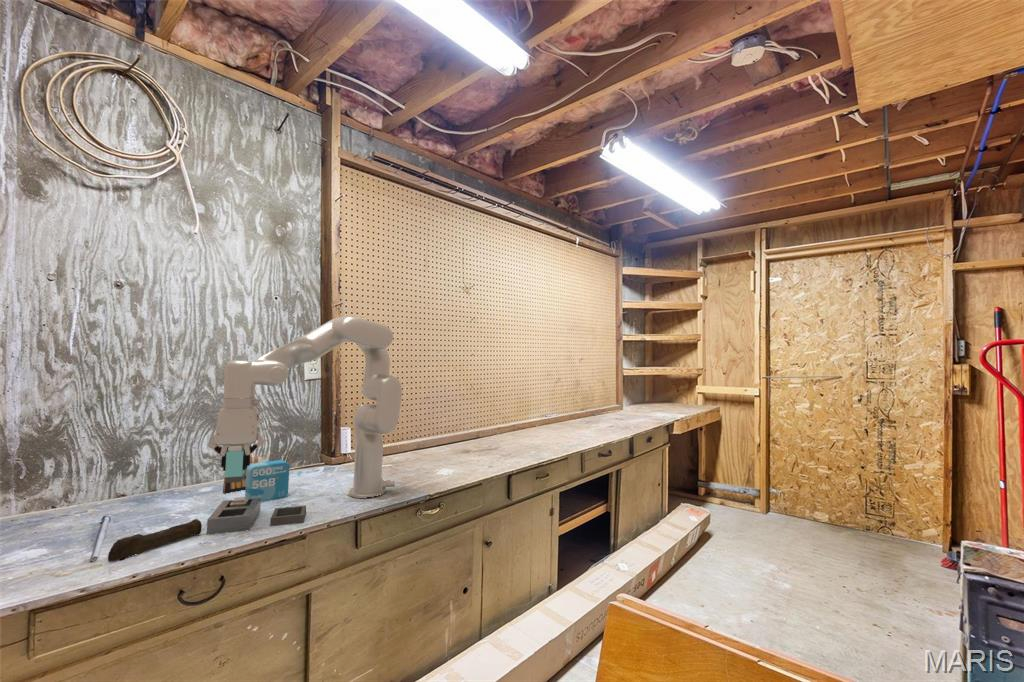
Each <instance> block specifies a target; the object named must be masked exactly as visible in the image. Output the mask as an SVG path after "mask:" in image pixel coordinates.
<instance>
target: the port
mask: <svg viewBox="0 0 1024 682" xmlns="http://www.w3.org/2000/svg"><path fill="white" fill-rule="evenodd" d="M261 504H262V502H261V498H251V499H246V497H245V496H243V497H234V498H233V499H228V500H222V501H221V503H220V504H219V505H218V506H217V508H216V509H215V510H214V511H213V512H212V514H210V516H209V517H208V518H207V519H206V520H207V521H206V535H207V534H209V535H216V534H215V533H219V534H226V533H225V532H229V533H237V531H239V532H246V530H248V531H250V530H251V529H250V528H252V527H253V525H254V524H255V521H256V520H257V518H256V517H258V516H259V513H260V512H261ZM255 519H256V520H255Z"/></svg>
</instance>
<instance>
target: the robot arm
mask: <svg viewBox="0 0 1024 682" xmlns="http://www.w3.org/2000/svg"><path fill="white" fill-rule="evenodd" d="M393 334H394V333H393V331H392V330H391V328H390V327H389V326H387V325H385V324H382V323H379V322H375V321H371V320H367V319H364V318H361V317H356V316H340V317H334V318H333V319H330V320H329V321H327V322H325V323H323V324H321V325H320V326H318V327H317V328H315V329H313V330H312V331H311V330H310V332H307V333H306V334H305V335H304V334H303V336H301V337H298V338H296V339H294V340H292V341H290V342H288V343H286V344H284V345H281V346H280V347H279V346H278V347H277V348H275V349H273V350H271V351H269V352H267V353H265V354H264V355H262V356H260V357H259V358H257V359H256V360H254V361H252V360H242V359H241V360H240V359H239V360H238V359H237V360H234V359H233V360H229V361H227V362H226V364H225V368H224V383H223V384H224V385H223V386H224V387H223V400H222V402H223V403H222V408H220V410H219V413H218V416H217V420H216V428H215V431H214V432H215V434H214V435H213V436H212V438H211V439H210V440H209V442H208V443H207V444H206V446H207V447H208V448H211V449H212V450H215V452H216V453H217V454H219V456H221V460H220V461H221V462H220V464H221V466H220V467H221V468H223V469H222V470H223V472H225V469H226V452H227V451H228V450H229V446H230V445H244V448H245V454H244V456H243V470H246V468H247V467H248V466H249V465H250V455H251V454H252V453H253V452H254V451H256V450H257V449H258V448H259V447H261V446H263V445H264V444H266V440H265V439H264V438H263V436H262V434H261V433H260V418H259V417H260V416H259V409H258V408H257V407H255V406H257V405H261V399H257V398H256V386H257V385H258V386H260V385H261V386H269V387H275V386H279V385H281V384H282V383H284V382H285V381H286V380H287V379H288V377H289V369H291V368H293V367H295V366H297V365H301V364H304V363H310V362H312V361H315V360H318V359H320V358H321V357H323V356H325V355H326V354H328V353H329V352H331V351H332V350H334V349H335V348H337V347H339V346H340V345H342V344H344V343H355V344H356V345H357V347H359V348H360V349H361V351H362V352H363V355H364V358H365V363H364V364H365V366H364V373H363V379H362V386H361V392H362V395H363V397H364V398H366V399H367V400H370V401H374V402H376V403H365V404H362V405H360V406H359V407H358V408H357V409H356V410H355V412H354V415H353V426H354V436H355V438H354V439H355V443H354V444H355V447H354V464H353V465H354V466H353V468H354V469H353V486H352V488H350V489H348V496H349V497H350V498H354V499H355V498H356V499H368V498H367V497H372V498H375V497H374V496H377V495H380V494H382V495H384V494H385V493H386V488H387V487H389V488H393V487H394V488H395V486H396V482H395V481H394V480H391V479H389V480H385V479H383V477H382V474H383V454H384V438H383V435H387V434H390V433H392V432H393V431H394V430H395V429H396V427H397V426H398V423H399V417H400V411H401V403H402V397H403V396H402V395H403V387H402V384H401V382H400V379H398V378H397V377H396V376H393V375H390V365H391V364H390V363H391V359H390V354H389V351H388V349H387V348H388V347H390V346H391V345H392V343H393V340H394V335H393ZM256 441H257V443H256ZM254 443H255V444H254ZM384 492H385V493H384ZM383 493H384V494H383ZM380 496H381V495H380ZM377 497H378V496H377Z"/></svg>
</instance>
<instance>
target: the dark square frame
mask: <svg viewBox="0 0 1024 682" xmlns="http://www.w3.org/2000/svg"><path fill="white" fill-rule="evenodd" d="M306 514H307V505H299V506H286V507H275V508H274V510H273V511H272V514H271V517H270V522H269V523H270V527H273V526H282V525H283V526H284V524H285V525H293V524H294V523H295V524H303V523H304V522H305V518H306Z"/></svg>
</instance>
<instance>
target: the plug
mask: <svg viewBox="0 0 1024 682" xmlns="http://www.w3.org/2000/svg"><path fill="white" fill-rule="evenodd" d="M244 454H245V448H244V445H229V449H228V451H227V452H226V469H225V471H224V478H225V483H231V482H242V481H243V479H244V478H245V470H243V456H244Z"/></svg>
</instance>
